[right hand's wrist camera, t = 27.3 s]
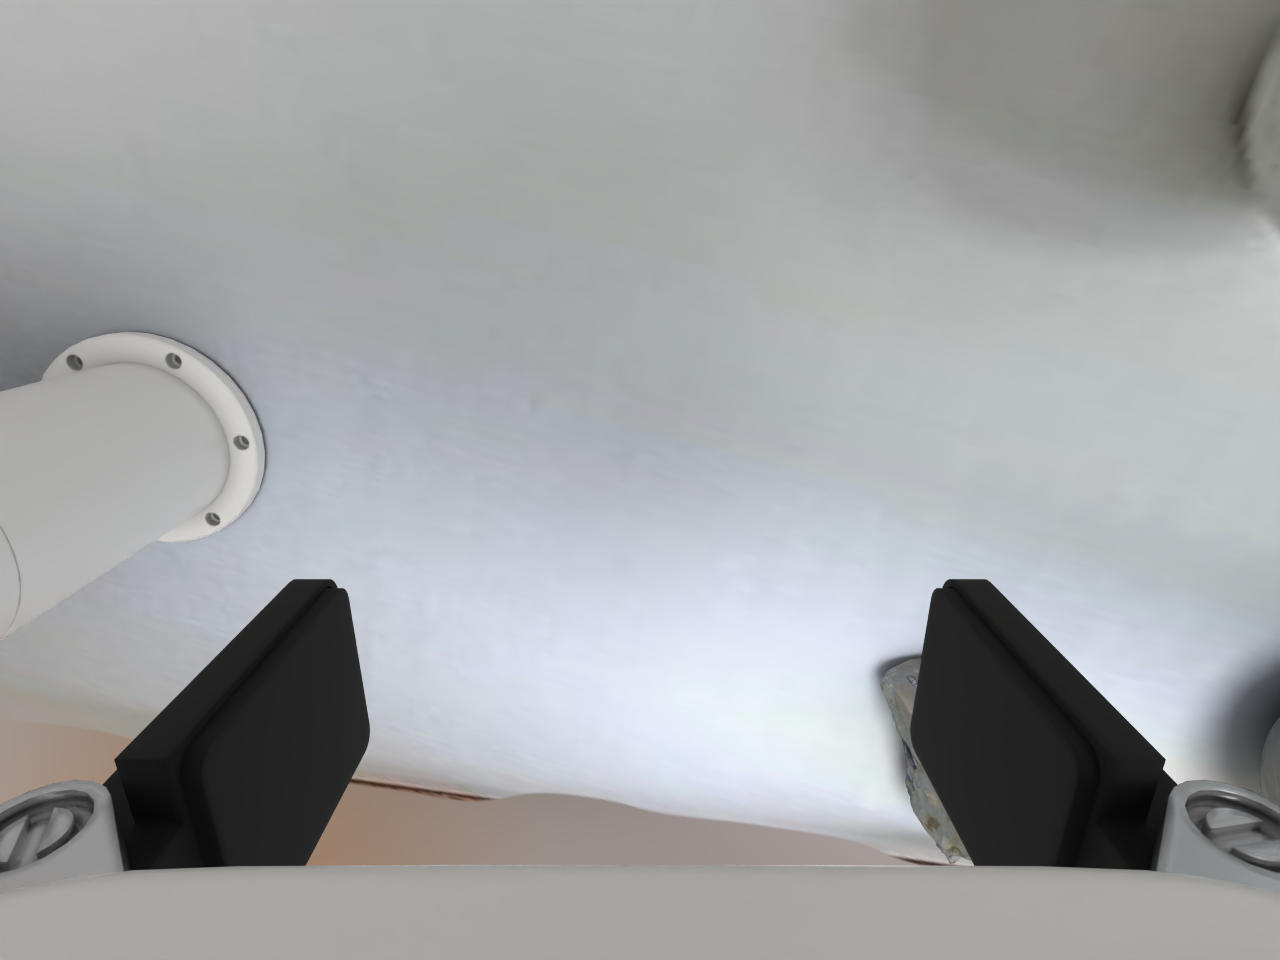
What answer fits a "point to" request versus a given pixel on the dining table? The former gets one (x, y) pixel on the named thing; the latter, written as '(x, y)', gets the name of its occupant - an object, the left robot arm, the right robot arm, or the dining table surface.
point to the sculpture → (1271, 764)
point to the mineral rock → (923, 796)
